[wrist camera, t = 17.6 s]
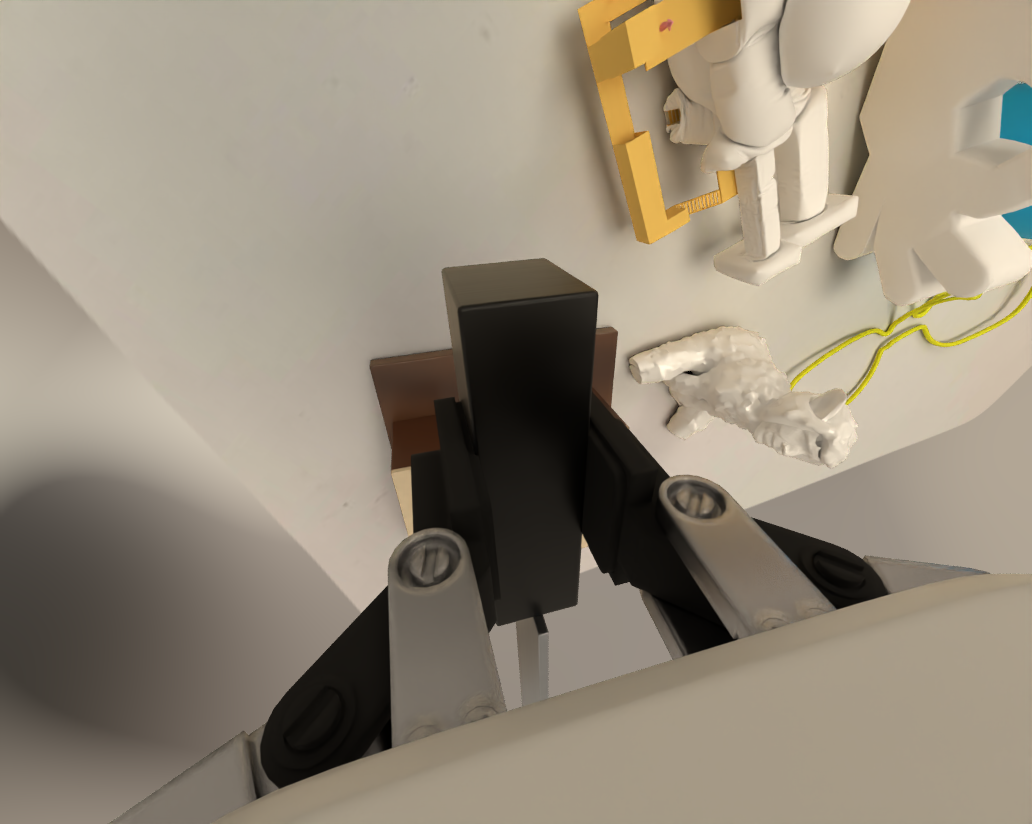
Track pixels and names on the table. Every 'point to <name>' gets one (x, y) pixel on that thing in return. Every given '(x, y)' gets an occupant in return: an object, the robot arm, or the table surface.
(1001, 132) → the mug
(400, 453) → the wooden step piece
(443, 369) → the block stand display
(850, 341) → the glasses
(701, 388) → the white creature statuette
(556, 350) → the tall black pillar
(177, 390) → the table surface
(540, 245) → the table surface
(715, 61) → the figure
